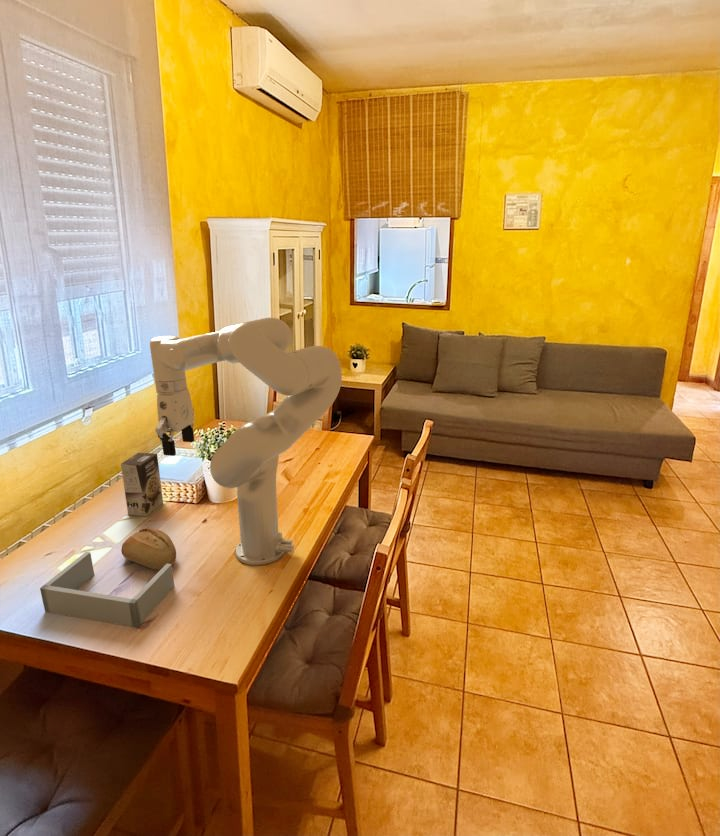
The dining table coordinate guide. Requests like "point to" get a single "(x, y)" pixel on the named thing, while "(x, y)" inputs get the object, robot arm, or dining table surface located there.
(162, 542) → the bread roll
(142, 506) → the coffee box
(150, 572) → the dining table surface
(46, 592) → the box
